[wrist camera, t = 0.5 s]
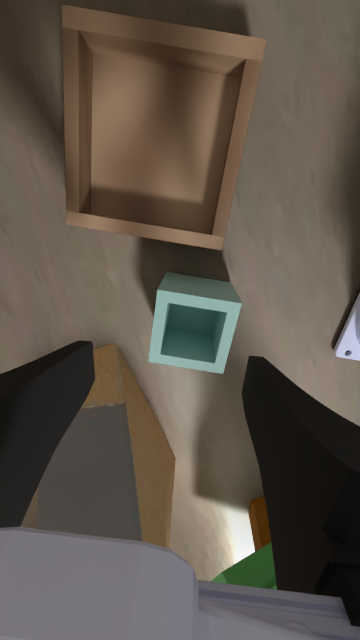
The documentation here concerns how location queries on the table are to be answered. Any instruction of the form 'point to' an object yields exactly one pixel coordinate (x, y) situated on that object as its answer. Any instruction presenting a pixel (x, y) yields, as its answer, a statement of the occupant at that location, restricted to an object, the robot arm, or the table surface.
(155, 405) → the table surface
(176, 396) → the table surface
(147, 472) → the sandwich container
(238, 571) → the decorative tree
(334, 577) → the robot arm
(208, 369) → the box
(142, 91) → the walnut crate
